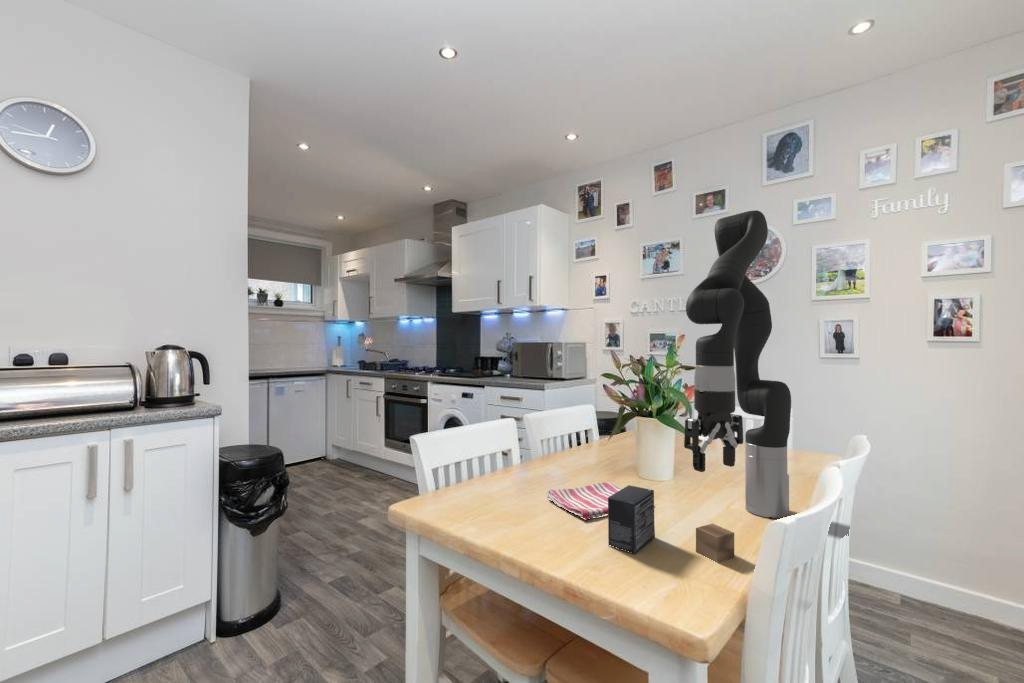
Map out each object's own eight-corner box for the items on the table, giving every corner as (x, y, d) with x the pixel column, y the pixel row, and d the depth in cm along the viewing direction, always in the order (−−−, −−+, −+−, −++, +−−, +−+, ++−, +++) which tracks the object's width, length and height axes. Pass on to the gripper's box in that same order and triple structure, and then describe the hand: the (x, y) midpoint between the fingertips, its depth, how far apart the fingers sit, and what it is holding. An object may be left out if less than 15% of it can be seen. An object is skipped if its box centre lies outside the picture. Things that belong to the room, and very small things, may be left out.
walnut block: (712, 547, 92) (712, 523, 92) (734, 558, 87) (734, 532, 87) (695, 552, 90) (695, 527, 90) (716, 563, 85) (716, 537, 85)
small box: (627, 529, 101) (627, 483, 101) (655, 537, 97) (655, 489, 97) (606, 546, 92) (606, 496, 93) (635, 555, 88) (635, 503, 88)
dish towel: (544, 501, 120) (544, 488, 120) (610, 488, 131) (610, 476, 131) (582, 524, 105) (582, 509, 105) (654, 507, 116) (654, 494, 116)
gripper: (722, 385, 95) (722, 460, 95) (674, 387, 89) (674, 467, 89) (754, 388, 89) (754, 468, 88) (705, 391, 82) (704, 478, 82)
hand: (714, 468), depth 89 cm, fingers open, 8 cm apart
